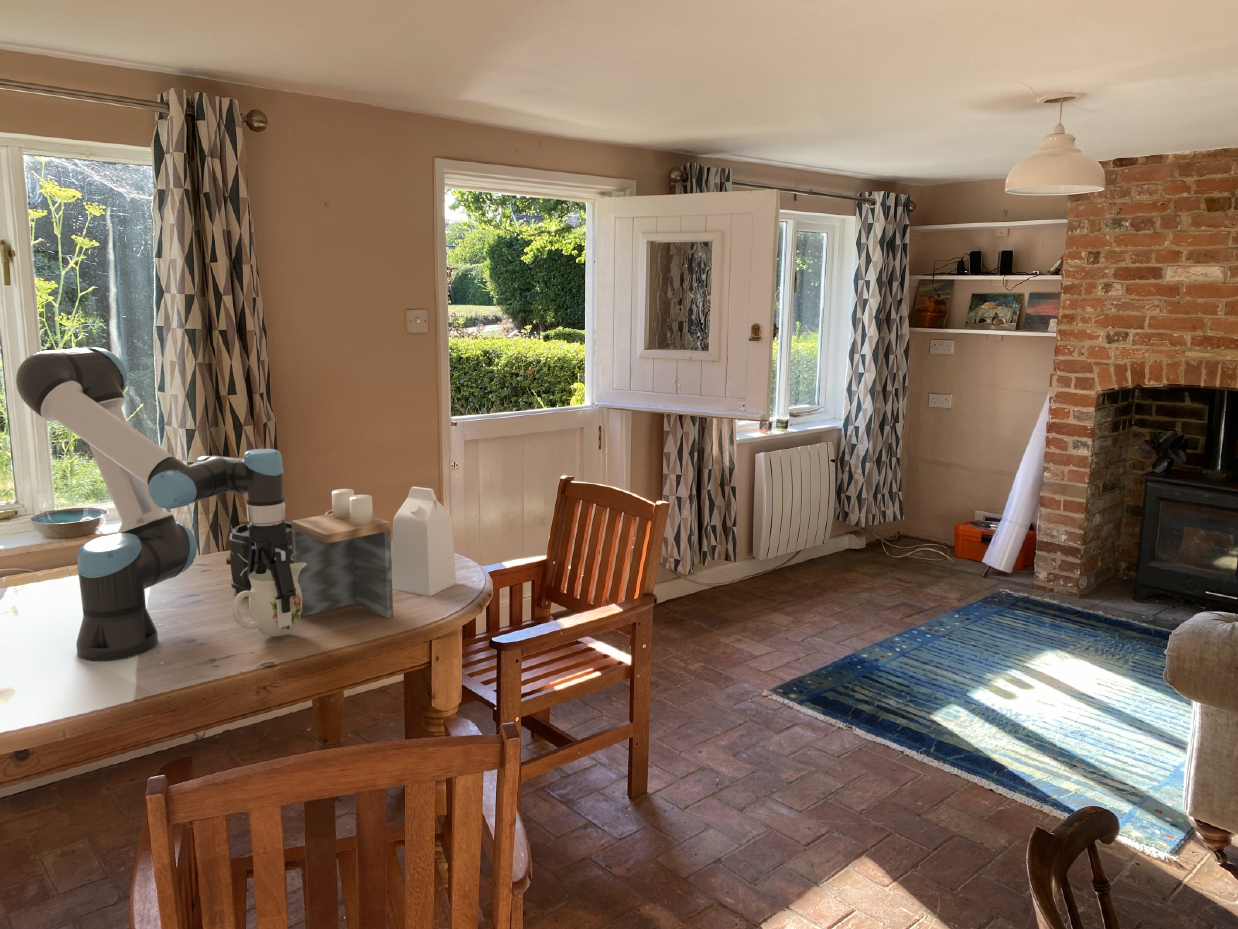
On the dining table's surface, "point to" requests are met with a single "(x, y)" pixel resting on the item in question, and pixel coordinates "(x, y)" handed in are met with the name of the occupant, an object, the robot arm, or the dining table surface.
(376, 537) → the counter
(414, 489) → the milk
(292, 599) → the pitcher
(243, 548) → the black octagonal canister
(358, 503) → the white ceramic cup
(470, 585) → the dining table surface
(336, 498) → the white ceramic cylinder
